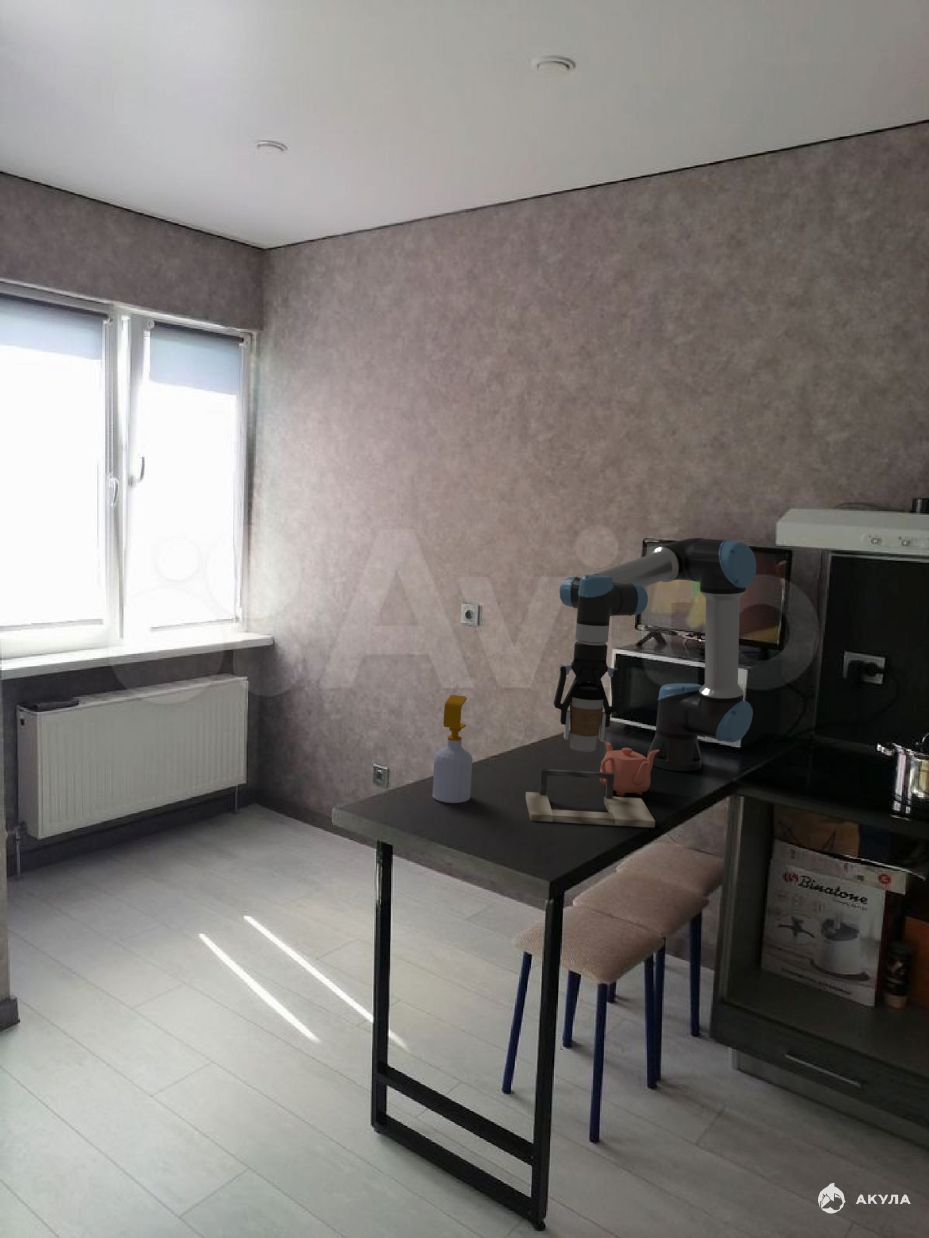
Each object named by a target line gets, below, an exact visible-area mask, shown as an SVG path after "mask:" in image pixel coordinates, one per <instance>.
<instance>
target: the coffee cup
mask: <svg viewBox="0 0 929 1238" xmlns="http://www.w3.org/2000/svg"><path fill="white" fill-rule="evenodd" d="M571 686H572V685H571ZM572 687H573V686H572ZM603 688H604V689H600V690H598V689H597V686H596V683H591V682H586V683H583V682H582V683H581V685H580V686H579V688H576V687H574V688H573V692H572V693H571V697H572V702H571V703H570V705H569V711H570V723H569V734H570V735H569V736H570V737H569V740H570V741H569V747H570V749H571V750H574V751H578V752H585V753H586V752H587V753H588V752H595V751H596V750H597V743H598V739H599V730H600V722H601V717H602V712H604V711H603V710H604V707H603V699H605V695H604V691H605V687H604V686H603Z"/></svg>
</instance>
